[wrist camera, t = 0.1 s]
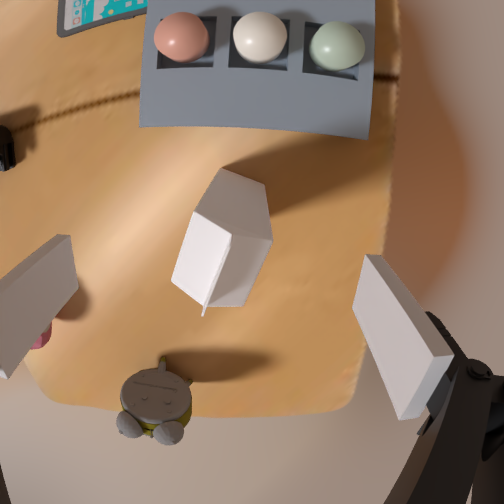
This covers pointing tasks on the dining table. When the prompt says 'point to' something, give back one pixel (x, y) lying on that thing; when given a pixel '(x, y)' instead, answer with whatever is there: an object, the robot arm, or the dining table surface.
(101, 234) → the dining table surface
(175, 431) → the alarm clock
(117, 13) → the smartphone
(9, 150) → the end cap
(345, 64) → the button sage
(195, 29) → the button terracotta
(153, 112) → the console
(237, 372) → the dining table surface
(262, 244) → the milk
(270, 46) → the button cream
